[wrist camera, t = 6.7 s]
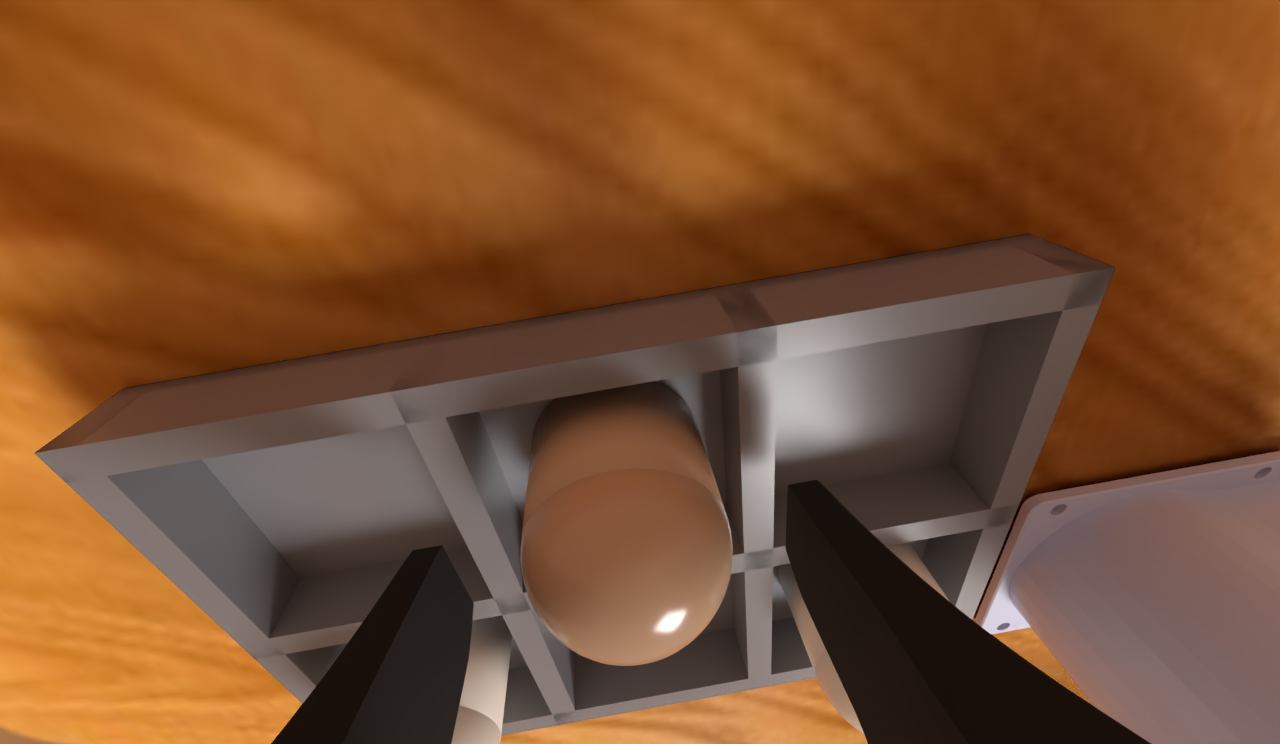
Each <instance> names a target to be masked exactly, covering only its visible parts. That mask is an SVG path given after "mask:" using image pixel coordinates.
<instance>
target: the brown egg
mask: <svg viewBox="0 0 1280 744" xmlns="http://www.w3.org/2000/svg"><path fill="white" fill-rule="evenodd" d="M732 557H733V545H732V535H731V529H730V525H729V520H728V517H727V514H726V511H725V508H724V505H723V502H722V499H721V496H720V493H719V490H718V486H717V483H716V480H715V477H714V474H713V471H712V468H711V465H710V462H709V459H708V456H707V453H706V450H705V447H704V444H703V441H702V438H701V435H700V432H699V429H698V426H697V423H696V420H695V417H694V414H693V413H692V411H691V409H690V407H689V406H688V405H687V403H686V402H685V401H684V400H683V399H682V398H681V397H680V396H679V395H678V394H677V393H675V392H674V391H672V390H671V389H669V388H668V387H666V386H664V385H662V384H660V383H657V382H655V381H652V382H647V383H641V384H635V385H629V386H624V387H618V388H612V389H606V390H600V391H595V392H589V393H583V394H577V395H572V396H566V397H560V398H555V399H554V400H553V401H552V402H551V403H550V404H549V405H548V406H547V407H546V408H545V409H544V411H543V412H542V414H541V415H540V417H539V418H538V421H537V423H536V425H535V428H534V431H533V436H532V445H531V454H530V463H529V473H528V482H527V491H526V501H525V510H524V519H523V528H522V538H521V551H520V560H521V569H522V577H523V581H524V585H525V588H526V591H527V594H528V597H529V600H530V602H531V604H532V606H533V608H534V610H535V612H536V614H537V615H538V617H539V619H540V620H541V621H542V623H543V624H544V625H545V627H546V628H547V629H548V630H549V632H550V633H551V634H552V635H553V636H554V637H556V638H557V639H558V640H559V641H560V642H561V643H562V644H563V645H565V646H566V647H568V648H569V649H571V650H573V651H574V652H576V653H577V654H579V655H581V656H583V657H585V658H588V659H591V660H594V661H597V662H600V663H603V664H608V665H615V666H633V665H642V664H647V663H652V662H655V661H658V660H661V659H664V658H666V657H668V656H671V655H673V654H674V653H676V652H678V651H679V650H681V649H682V648H684V647H685V646H687V645H688V644H689V643H691V642H692V641H693V640H694V639H695V638H697V636H698V635H699V634H700V633H701V632H702V631H703V630H704V629H705V628H706V627H707V626H708V624H709V623H710V621H711V620H712V619H713V617H714V615H715V614H716V612H717V611H718V609H719V607H720V605H721V603H722V601H723V598H724V596H725V593H726V591H727V587H728V584H729V579H730V575H731V571H732Z"/></svg>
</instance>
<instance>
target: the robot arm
mask: <svg viewBox="0 0 1280 744" xmlns="http://www.w3.org/2000/svg"><path fill="white" fill-rule="evenodd" d="M785 549H786V552H787V555H788V558H789V561H790V564H791V567H792V570H793V573H794V576H795V579H796V582H797V585H798V587H799V590H800V593H801V596H802V598H803V601H804V603H805V605H806V607H807V609H808V612H809V614H810V616H811V618H812V620H813V622H814V625H815V627H816V629H817V631H818V633H819V635H820V638H821V640H822V642H823V644H824V646H825V648H826V650H827V653H828V655H829V657H830V659H831V661H832V663H833V665H834V668H835V670H836V672H837V674H838V676H839V678H840V680H841V683H842V685H843V687H844V689H845V691H846V693H847V695H848V698H849V700H850V702H851V704H852V706H853V708H854V711H855V713H856V715H857V718H858V720H859V722H860V725H861V727H862V729H863V732H864V734H865V736H866V739H867V742H868V744H1280V451H1276V452H1270V453H1265V454H1259V455H1253V456H1248V457H1242V458H1237V459H1231V460H1226V461H1220V462H1214V463H1209V464H1203V465H1198V466H1192V467H1186V468H1181V469H1175V470H1170V471H1164V472H1159V473H1153V474H1147V475H1142V476H1136V477H1131V478H1125V479H1119V480H1114V481H1108V482H1103V483H1097V484H1092V485H1086V486H1080V487H1075V488H1069V489H1064V490H1058V491H1052V492H1047V493H1041V494H1037V495H1034V496H1032V497H1030V498H1028V499H1027V500H1026V501H1025V502H1024V503H1023V504H1022V506H1021V509H1020V511H1019V513H1018V516H1017V518H1016V521H1015V523H1014V526H1013V528H1012V530H1011V533H1010V535H1009V538H1008V540H1007V543H1006V545H1005V547H1004V550H1003V552H1002V555H1001V557H1000V560H999V562H998V564H997V567H996V569H995V572H994V574H993V577H992V579H991V581H990V584H989V586H988V589H987V591H986V594H985V596H984V599H983V601H982V603H981V606H980V608H979V611H978V613H977V616H976V618H975V620H974V621H973V620H972V619H971V618H969V617H968V616H967V615H966V614H964V613H963V612H962V611H960V610H959V609H958V608H957V607H956V606H954V605H953V604H952V603H951V602H949V601H948V600H947V599H946V598H945V597H943V596H942V595H941V594H940V593H939V592H937V591H936V590H935V589H934V588H933V587H931V586H930V585H929V584H928V583H927V582H925V581H924V580H923V579H922V578H921V577H920V576H919V575H917V574H916V573H915V572H914V571H913V570H912V569H911V568H909V567H908V566H907V565H906V564H905V563H904V562H903V561H902V560H901V559H899V558H898V557H897V556H896V555H895V554H894V553H893V552H892V551H891V550H889V549H888V548H887V547H886V546H885V545H884V544H883V543H882V542H881V541H880V540H879V539H877V538H876V537H875V536H874V535H873V534H872V533H871V532H870V531H869V530H868V529H867V528H866V527H865V526H864V525H863V524H862V523H861V522H860V521H859V520H858V519H857V518H856V517H855V516H854V515H853V514H851V513H850V512H849V511H848V510H847V509H846V508H845V507H844V506H843V505H842V504H841V503H840V502H839V501H838V499H837V498H836V497H835V496H834V495H833V494H832V493H831V492H830V491H829V490H828V489H827V488H826V487H825V486H824V485H823V484H822V483H821V482H819V481H818V480H812V481H807V482H801V483H795V484H789V485H788V489H787V517H786V544H785ZM473 607H474V603H473V601H472V599H471V597H470V596H469V594H468V592H467V590H466V588H465V586H464V585H463V583H462V581H461V579H460V577H459V575H458V574H457V572H456V570H455V568H454V566H453V564H452V562H451V561H450V559H449V557H448V555H447V553H446V551H445V550H444V548H443V546H442V545H440V546H434V547H428V548H423V549H417V550H413V551H412V552H411V553H410V555H409V556H408V557H407V559H406V560H405V562H404V563H403V564H402V566H401V567H400V569H399V570H398V572H397V573H396V575H395V576H394V577H393V579H392V580H391V582H390V583H389V585H388V586H387V588H386V589H385V591H384V592H383V593H382V595H381V596H380V598H379V599H378V601H377V602H376V604H375V605H374V607H373V608H372V609H371V611H370V612H369V614H368V615H367V617H366V618H365V620H364V621H363V622H362V624H361V625H360V627H359V628H358V629H357V631H356V632H355V634H354V635H353V636H352V638H351V639H350V641H349V642H348V643H347V645H346V646H345V648H344V649H343V650H342V652H341V653H340V655H339V656H338V657H337V659H336V660H335V662H334V663H333V664H332V666H331V667H330V668H329V670H328V671H327V673H326V674H325V675H324V677H323V678H322V679H321V680H320V682H319V683H318V684H317V686H316V687H315V688H314V690H313V691H312V692H311V693H310V695H309V696H308V697H307V699H306V700H305V701H304V703H303V704H302V705H301V707H300V708H299V709H298V710H297V712H296V713H295V714H294V716H293V717H292V718H291V720H290V721H289V722H288V723H287V725H286V726H285V727H284V728H283V730H282V731H281V732H280V733H279V735H278V736H277V737H276V738H275V740H274V741H273V742H272V743H271V744H451V743H452V738H453V733H454V728H455V724H456V719H457V714H458V709H459V704H460V700H461V695H462V690H463V685H464V680H465V675H466V670H467V665H468V659H469V653H470V643H471V633H472V620H473ZM1029 627H1031V628H1032V629H1033V630H1034V632H1035V633H1036V634H1037V635H1038V637H1039V638H1040V639H1041V640H1042V642H1043V643H1044V644H1045V645H1046V647H1047V648H1048V649H1049V650H1050V652H1051V653H1052V654H1053V655H1054V657H1055V658H1056V659H1057V660H1058V662H1059V663H1060V664H1061V665H1062V667H1063V668H1064V669H1065V671H1066V672H1067V673H1068V674H1069V676H1070V677H1071V678H1072V679H1073V681H1074V682H1075V683H1076V684H1077V686H1078V687H1079V688H1080V689H1081V691H1082V692H1083V693H1084V694H1085V696H1086V697H1087V698H1088V699H1089V701H1090V702H1091V703H1092V704H1093V705H1091V704H1090V703H1088V702H1087V701H1085V700H1084V699H1082V698H1080V697H1079V696H1077V695H1076V694H1074V693H1073V692H1071V691H1070V690H1068V689H1067V688H1065V687H1064V686H1062V685H1061V684H1059V683H1058V682H1056V681H1055V680H1054V679H1052V678H1051V677H1049V676H1048V675H1046V674H1045V673H1044V672H1042V671H1041V670H1039V669H1038V668H1037V667H1035V666H1034V665H1032V664H1031V663H1029V662H1028V661H1027V660H1025V659H1024V658H1022V657H1021V656H1020V655H1018V654H1017V653H1016V652H1014V651H1013V650H1011V649H1010V648H1009V647H1007V646H1006V645H1005V644H1003V643H1002V642H1001V641H999V640H998V639H997V638H995V637H994V636H993V635H991V634H996V633H1001V632H1007V631H1012V630H1018V629H1023V628H1029Z"/></svg>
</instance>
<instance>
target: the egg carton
mask: <svg viewBox="0 0 1280 744" xmlns="http://www.w3.org/2000/svg"><path fill="white" fill-rule="evenodd" d="M1114 270H1115V267H1114V266H1111V265H1109V264H1106V263H1103V262H1101V261H1098V260H1096V259H1093V258H1091V257H1088V256H1085V255H1083V254H1080V253H1078V252H1075V251H1073V250H1070V249H1067V248H1065V247H1062V246H1060V245H1057V244H1055V243H1052V242H1049V241H1047V240H1044V239H1042V238H1039V237H1037V236H1034V235H1031V234H1027V235H1021V236H1015V237H1009V238H1003V239H998V240H992V241H986V242H980V243H974V244H968V245H962V246H957V247H951V248H945V249H939V250H933V251H927V252H921V253H915V254H910V255H904V256H898V257H892V258H886V259H880V260H874V261H869V262H863V263H857V264H851V265H845V266H839V267H833V268H827V269H822V270H816V271H810V272H804V273H798V274H792V275H786V276H780V277H775V278H769V279H763V280H757V281H751V282H745V283H739V284H734V285H728V286H722V287H716V288H710V289H704V290H698V291H692V292H687V293H681V294H675V295H669V296H663V297H657V298H651V299H645V300H640V301H634V302H628V303H622V304H616V305H610V306H604V307H599V308H593V309H587V310H581V311H575V312H569V313H563V314H557V315H552V316H546V317H540V318H534V319H528V320H522V321H516V322H511V323H505V324H499V325H493V326H487V327H481V328H475V329H469V330H464V331H458V332H452V333H446V334H440V335H434V336H428V337H422V338H417V339H411V340H405V341H399V342H393V343H387V344H381V345H376V346H370V347H364V348H358V349H352V350H346V351H340V352H334V353H329V354H323V355H317V356H311V357H305V358H299V359H293V360H287V361H282V362H276V363H270V364H264V365H258V366H252V367H246V368H241V369H235V370H229V371H223V372H217V373H211V374H205V375H199V376H194V377H188V378H182V379H176V380H170V381H164V382H158V383H153V384H147V385H141V386H135V387H129V388H123V389H122V390H121V391H119V392H118V393H116V394H115V395H114V396H112V397H111V398H110V399H108V400H107V401H105V402H104V403H103V404H101V405H100V406H99V407H97V408H96V409H94V410H93V411H92V412H90V413H89V414H88V415H86V416H85V417H83V418H82V419H81V420H79V421H78V422H77V423H75V424H74V425H72V426H71V427H70V428H68V429H67V430H65V431H64V432H63V433H61V434H60V435H59V436H57V437H56V438H54V439H53V440H52V441H50V442H49V443H48V444H46V445H45V446H43V447H42V448H41V449H39V450H38V451H37V452H35V454H36V455H37V456H38V457H39V458H40V459H41V460H42V461H43V462H44V463H45V464H47V465H48V466H49V467H50V468H51V469H52V470H53V471H54V472H55V473H56V474H57V475H58V476H59V477H60V478H62V479H63V480H64V481H65V482H66V483H67V484H68V485H69V486H70V487H71V488H72V489H73V490H74V491H75V492H77V493H78V494H79V495H80V496H81V497H82V498H83V499H84V500H85V501H86V502H87V503H88V504H89V505H90V506H92V507H93V508H94V509H95V510H96V511H97V512H98V513H99V514H100V515H101V516H102V517H103V518H104V519H105V520H107V521H108V522H109V523H110V524H111V525H112V526H113V527H114V528H115V529H116V530H117V531H118V532H119V533H120V534H122V535H123V536H124V537H125V538H126V539H127V540H128V541H129V542H130V543H131V544H132V545H133V546H134V547H135V548H137V549H138V550H139V551H140V552H141V553H142V554H143V555H144V556H145V557H146V558H147V559H148V560H149V561H150V562H152V563H153V564H154V565H155V566H156V567H157V568H158V569H159V570H160V571H161V572H162V573H163V574H164V575H165V576H167V577H168V578H169V579H170V580H171V581H172V582H173V583H174V584H175V585H176V586H177V587H178V588H179V589H180V590H182V591H183V592H184V593H185V594H186V595H187V596H188V597H189V598H190V599H191V600H192V601H193V602H194V603H195V604H197V605H198V606H199V607H200V608H201V609H202V610H203V611H204V612H205V613H206V614H207V615H208V616H209V617H210V618H212V619H213V620H214V621H215V622H216V623H217V624H218V625H219V626H220V627H221V628H222V629H223V630H224V631H225V632H227V633H228V634H229V635H230V636H231V637H232V638H233V639H234V640H235V641H236V642H237V643H238V644H239V645H240V646H242V647H243V648H244V649H245V650H246V651H247V652H248V653H249V654H250V655H251V656H252V657H253V658H254V659H255V660H257V661H258V662H259V663H260V664H261V665H262V666H263V667H264V668H265V669H266V670H267V671H268V672H269V673H270V674H272V675H273V676H274V677H275V678H276V679H277V680H278V681H279V682H280V683H281V684H282V685H283V686H284V687H285V688H287V689H288V690H289V691H290V692H291V693H292V694H293V695H294V696H295V697H296V698H297V699H298V700H299V701H300V702H302V703H304V701H305V700H306V699H307V697H308V696H309V695H310V693H311V692H312V691H313V690H314V688H315V687H316V686H317V684H318V683H319V682H320V680H321V679H322V678H323V677H324V675H325V674H326V673H327V671H328V670H329V668H330V667H331V666H332V664H333V663H334V662H335V660H336V659H337V657H338V656H339V655H340V653H341V652H342V650H343V649H344V648H345V646H346V645H347V643H348V642H349V641H350V639H351V638H352V636H353V635H354V634H355V632H356V631H357V629H358V628H359V627H360V625H361V624H362V622H363V621H364V620H365V618H366V617H367V615H368V614H369V612H370V611H371V609H372V608H373V607H374V605H375V604H376V602H377V601H378V599H379V598H380V596H381V595H382V593H383V592H384V591H385V589H386V588H387V586H388V585H389V583H390V582H391V580H392V579H393V577H394V576H395V575H396V573H397V572H398V570H399V569H400V567H401V566H402V564H403V563H404V562H405V560H406V559H407V557H408V556H409V555H410V553H411V552H412V551H413V550H417V549H423V548H428V547H434V546H440V545H442V546H443V548H444V550H445V551H446V553H447V555H448V557H449V559H450V561H451V562H452V564H453V566H454V568H455V570H456V572H457V574H458V575H459V577H460V579H461V581H462V583H463V585H464V586H465V588H466V590H467V592H468V594H469V596H470V597H471V599H472V601H473V603H474V607H473V620H472V633H471V643H470V653H469V659H468V665H467V670H466V675H465V680H464V685H463V690H462V695H461V700H460V704H459V709H458V714H457V719H456V724H455V728H454V733H453V738H452V743H451V744H500V741H501V736H502V735H507V734H513V733H518V732H523V731H529V730H534V729H540V728H545V727H551V726H556V725H561V724H567V723H572V722H578V721H583V720H589V719H594V718H600V717H605V716H610V715H616V714H621V713H627V712H632V711H638V710H643V709H649V708H654V707H659V706H665V705H670V704H676V703H681V702H687V701H692V700H697V699H703V698H708V697H714V696H719V695H725V694H730V693H736V692H741V691H746V690H752V689H757V688H763V687H768V686H774V685H779V684H785V683H790V682H795V681H801V680H806V679H812V678H817V679H818V681H819V684H820V686H821V688H822V690H823V691H824V693H825V695H826V696H827V698H828V699H829V701H830V702H831V704H832V705H833V706H834V708H835V709H836V710H837V711H838V713H839V714H840V715H841V716H842V717H843V718H844V719H845V720H846V721H847V722H848V723H850V724H851V725H852V726H853V727H854V728H856V729H857V730H858V731H860V732H861V733H863V734H864V732H863V729H862V727H861V725H860V722H859V720H858V718H857V715H856V713H855V711H854V708H853V706H852V704H851V702H850V700H849V698H848V695H847V693H846V691H845V689H844V687H843V685H842V683H841V680H840V678H839V676H838V674H837V672H836V670H835V668H834V665H833V663H832V661H831V659H830V657H829V655H828V653H827V650H826V648H825V646H824V644H823V642H822V640H821V638H820V635H819V633H818V631H817V629H816V627H815V625H814V622H813V620H812V618H811V616H810V614H809V612H808V609H807V607H806V605H805V603H804V601H803V598H802V596H801V593H800V590H799V587H798V585H797V582H796V579H795V576H794V573H793V570H792V567H791V564H790V561H789V558H788V555H787V552H786V549H785V544H786V517H787V489H788V485H789V484H795V483H801V482H807V481H812V480H818V481H819V482H821V483H822V484H823V485H824V486H825V487H826V488H827V489H828V490H829V491H830V492H831V493H832V494H833V495H834V496H835V497H836V498H837V499H838V501H839V502H840V503H841V504H842V505H843V506H844V507H845V508H846V509H847V510H848V511H849V512H850V513H851V514H853V515H854V516H855V517H856V518H857V519H858V520H859V521H860V522H861V523H862V524H863V525H864V526H865V527H866V528H867V529H868V530H869V531H870V532H871V533H872V534H873V535H874V536H875V537H876V538H877V539H879V540H880V541H881V542H882V543H883V544H884V545H885V546H886V547H887V548H888V549H889V550H891V551H892V552H893V553H894V554H895V555H896V556H897V557H898V558H899V559H901V560H902V561H903V562H904V563H905V564H906V565H907V566H908V567H909V568H911V569H912V570H913V571H914V572H915V573H916V574H917V575H919V576H920V577H921V578H922V579H923V580H924V581H925V582H927V583H928V584H929V585H930V586H931V587H933V588H934V589H935V590H936V591H937V592H939V593H940V594H941V595H942V596H943V597H945V598H946V599H947V600H948V601H949V602H951V603H952V604H953V605H954V606H956V607H957V608H958V609H959V610H960V611H962V612H963V613H964V614H966V615H967V616H968V617H969V618H971V619H973V617H974V614H975V612H976V609H977V607H978V604H979V602H980V600H981V597H982V595H983V592H984V590H985V587H986V585H987V582H988V580H989V577H990V575H991V572H992V570H993V568H994V565H995V563H996V560H997V558H998V555H999V553H1000V550H1001V548H1002V545H1003V543H1004V540H1005V538H1006V536H1007V533H1008V531H1009V528H1010V526H1011V523H1012V521H1013V518H1014V516H1015V513H1016V511H1017V508H1018V506H1019V504H1020V501H1021V499H1022V496H1023V494H1024V491H1025V489H1026V486H1027V484H1028V481H1029V479H1030V476H1031V474H1032V472H1033V469H1034V467H1035V464H1036V462H1037V459H1038V457H1039V454H1040V452H1041V449H1042V447H1043V445H1044V442H1045V440H1046V437H1047V435H1048V432H1049V430H1050V427H1051V425H1052V422H1053V420H1054V417H1055V415H1056V413H1057V410H1058V408H1059V405H1060V403H1061V400H1062V398H1063V395H1064V393H1065V390H1066V388H1067V385H1068V383H1069V381H1070V378H1071V376H1072V373H1073V371H1074V368H1075V366H1076V363H1077V361H1078V358H1079V356H1080V353H1081V351H1082V349H1083V346H1084V344H1085V341H1086V339H1087V336H1088V334H1089V331H1090V329H1091V326H1092V324H1093V321H1094V319H1095V317H1096V314H1097V312H1098V309H1099V307H1100V304H1101V302H1102V299H1103V297H1104V294H1105V292H1106V289H1107V287H1108V285H1109V282H1110V280H1111V277H1112V275H1113V272H1114ZM652 381H655V382H657V383H660V384H662V385H664V386H666V387H668V388H669V389H671V390H672V391H674V392H675V393H677V394H678V395H679V396H680V397H681V398H682V399H683V400H684V401H685V402H686V403H687V405H688V406H689V407H690V409H691V411H692V413H693V414H694V417H695V420H696V423H697V426H698V429H699V432H700V435H701V438H702V441H703V444H704V447H705V450H706V453H707V456H708V459H709V462H710V465H711V468H712V471H713V474H714V477H715V480H716V483H717V486H718V490H719V493H720V496H721V499H722V502H723V505H724V508H725V511H726V514H727V517H728V520H729V525H730V529H731V535H732V545H733V557H732V571H731V575H730V579H729V584H728V587H727V591H726V593H725V596H724V598H723V601H722V603H721V605H720V607H719V609H718V611H717V612H716V614H715V615H714V617H713V619H712V620H711V621H710V623H709V624H708V626H707V627H706V628H705V629H704V630H703V631H702V632H701V633H700V634H699V635H698V636H697V638H695V639H694V640H693V641H692V642H691V643H689V644H688V645H687V646H685V647H684V648H682V649H681V650H679V651H678V652H676V653H674V654H673V655H671V656H668V657H666V658H664V659H661V660H658V661H655V662H652V663H647V664H642V665H633V666H615V665H608V664H603V663H600V662H597V661H594V660H591V659H588V658H585V657H583V656H581V655H579V654H577V653H576V652H574V651H573V650H571V649H569V648H568V647H566V646H565V645H563V644H562V643H561V642H560V641H559V640H558V639H557V638H556V637H554V636H553V635H552V634H551V633H550V632H549V630H548V629H547V628H546V627H545V625H544V624H543V623H542V621H541V620H540V619H539V617H538V615H537V614H536V612H535V610H534V608H533V606H532V604H531V602H530V600H529V597H528V594H527V591H526V588H525V585H524V581H523V577H522V569H521V560H520V551H521V538H522V528H523V519H524V510H525V501H526V491H527V482H528V473H529V463H530V454H531V445H532V436H533V431H534V428H535V425H536V423H537V421H538V418H539V417H540V415H541V414H542V412H543V411H544V409H545V408H546V407H547V406H548V405H549V404H550V403H551V402H552V401H553V400H554V399H555V398H560V397H566V396H572V395H577V394H583V393H589V392H595V391H600V390H606V389H612V388H618V387H624V386H629V385H635V384H641V383H647V382H652ZM864 735H865V734H864Z"/></svg>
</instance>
